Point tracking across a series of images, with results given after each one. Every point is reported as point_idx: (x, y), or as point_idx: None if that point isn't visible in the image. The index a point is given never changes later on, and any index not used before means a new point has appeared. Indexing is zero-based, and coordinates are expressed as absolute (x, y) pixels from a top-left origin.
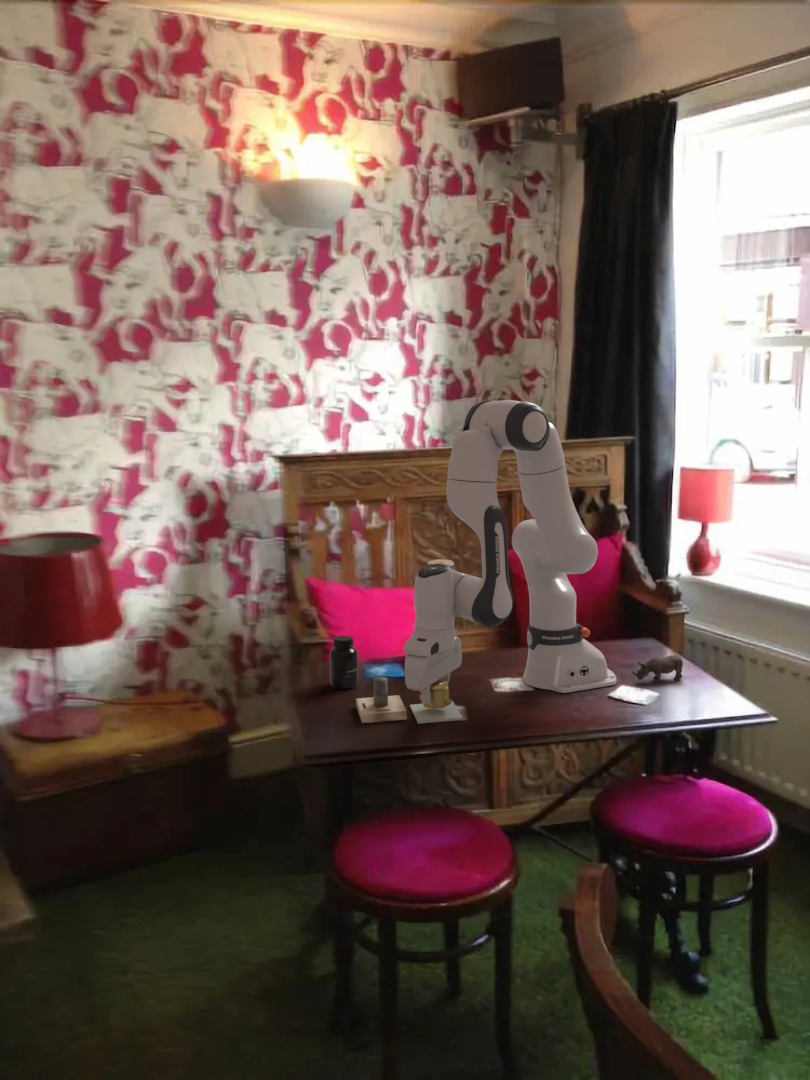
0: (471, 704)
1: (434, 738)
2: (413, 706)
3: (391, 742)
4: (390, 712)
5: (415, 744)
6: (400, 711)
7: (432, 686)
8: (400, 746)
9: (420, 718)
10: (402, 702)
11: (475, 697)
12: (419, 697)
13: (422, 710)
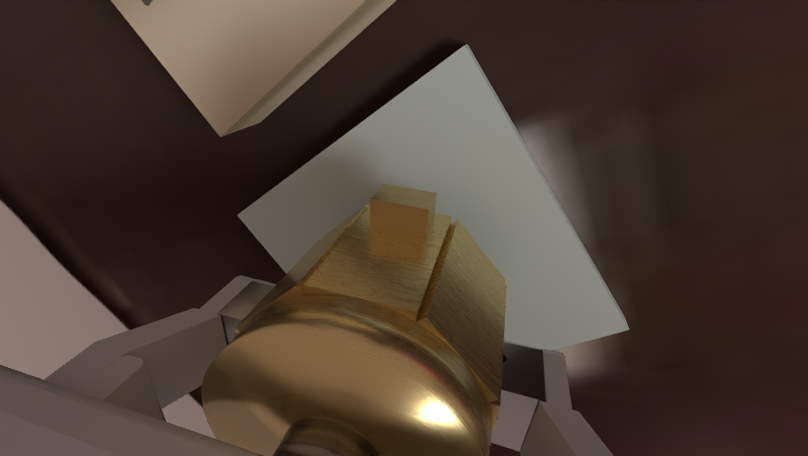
0: (635, 406)
1: (170, 313)
2: (437, 92)
3: (23, 163)
4: (132, 25)
5: (85, 261)
6: (189, 95)
7: (219, 436)
8: (32, 214)
9: (271, 216)
10: (344, 17)
11: (791, 421)
12: (376, 193)
13: None
